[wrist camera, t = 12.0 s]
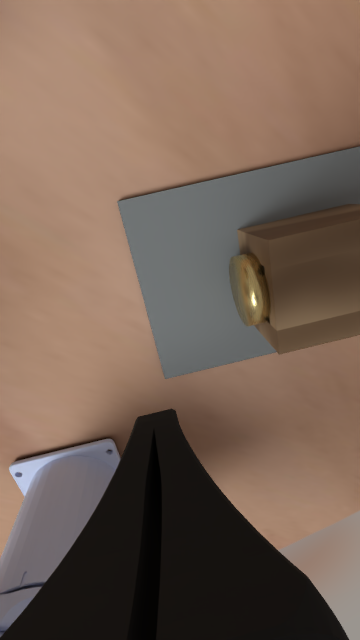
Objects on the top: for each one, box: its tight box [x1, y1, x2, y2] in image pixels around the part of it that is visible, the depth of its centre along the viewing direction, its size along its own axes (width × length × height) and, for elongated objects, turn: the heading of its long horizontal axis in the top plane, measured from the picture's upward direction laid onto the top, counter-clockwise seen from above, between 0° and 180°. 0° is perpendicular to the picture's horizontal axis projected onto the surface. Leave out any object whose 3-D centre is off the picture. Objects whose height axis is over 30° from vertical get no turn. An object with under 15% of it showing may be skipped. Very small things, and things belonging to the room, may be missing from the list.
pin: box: [229, 253, 271, 327], centre depth 17 cm, size 4×12×4 cm, turn 102°
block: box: [237, 204, 360, 354], centre depth 17 cm, size 6×7×5 cm
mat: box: [117, 146, 360, 379], centre depth 20 cm, size 12×19×1 cm, turn 102°
